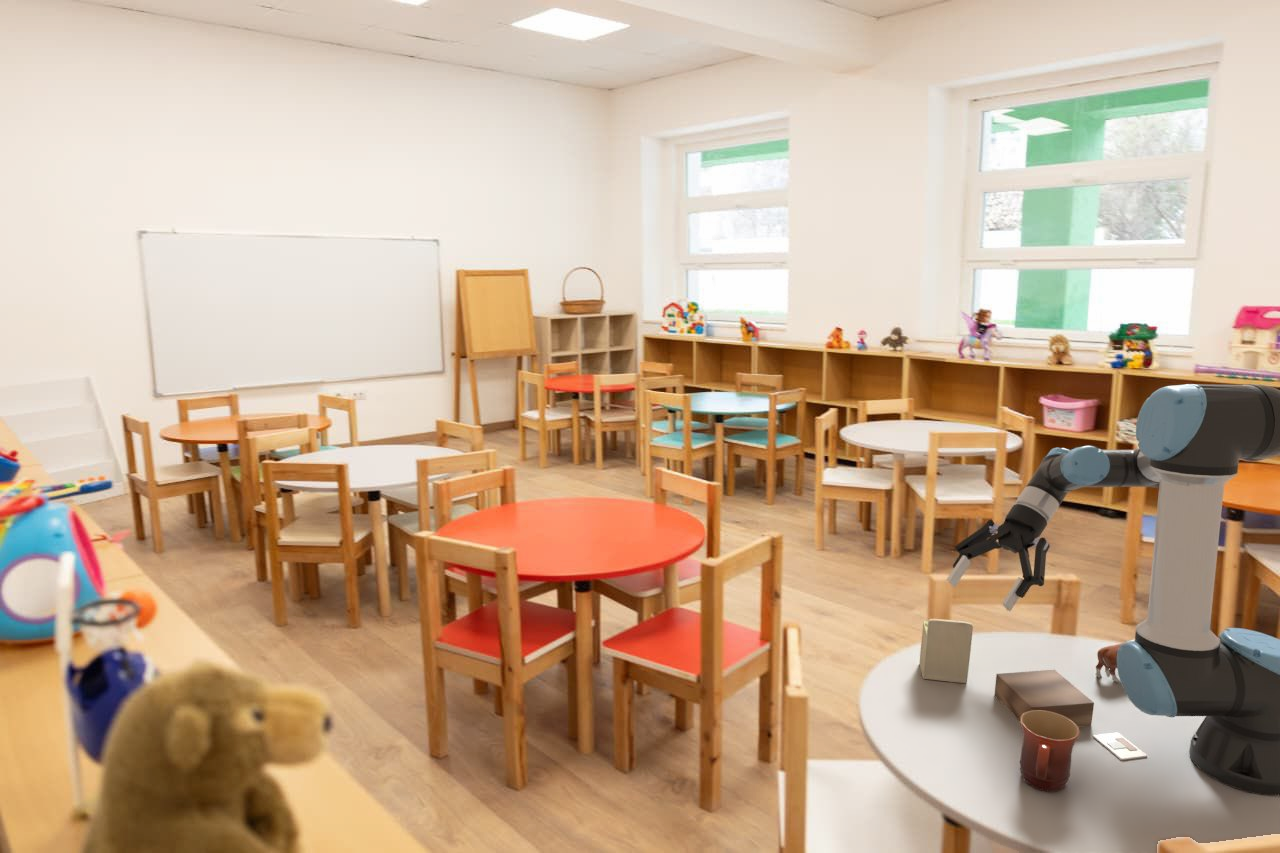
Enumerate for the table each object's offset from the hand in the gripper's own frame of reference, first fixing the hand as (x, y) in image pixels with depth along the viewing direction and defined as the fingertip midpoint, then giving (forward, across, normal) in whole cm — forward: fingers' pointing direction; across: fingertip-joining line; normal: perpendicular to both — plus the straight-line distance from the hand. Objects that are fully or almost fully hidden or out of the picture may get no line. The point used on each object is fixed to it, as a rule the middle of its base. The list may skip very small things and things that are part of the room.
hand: (977, 595), depth 175 cm
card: (+12, -34, -8) cm, 37 cm away
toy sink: (+17, -1, -4) cm, 18 cm away
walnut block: (+14, -19, -8) cm, 25 cm away
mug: (+28, -34, +7) cm, 44 cm away
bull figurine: (-4, -20, -25) cm, 33 cm away
